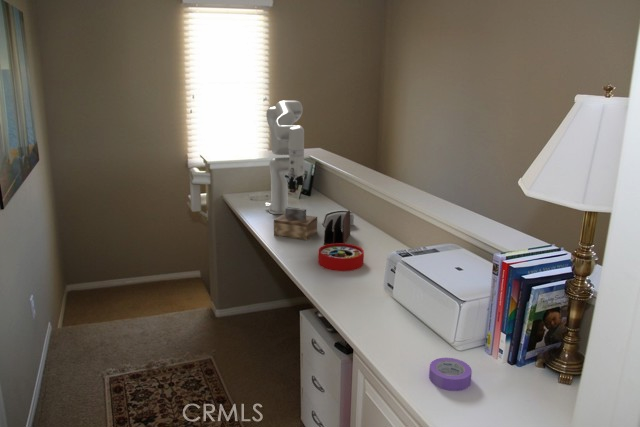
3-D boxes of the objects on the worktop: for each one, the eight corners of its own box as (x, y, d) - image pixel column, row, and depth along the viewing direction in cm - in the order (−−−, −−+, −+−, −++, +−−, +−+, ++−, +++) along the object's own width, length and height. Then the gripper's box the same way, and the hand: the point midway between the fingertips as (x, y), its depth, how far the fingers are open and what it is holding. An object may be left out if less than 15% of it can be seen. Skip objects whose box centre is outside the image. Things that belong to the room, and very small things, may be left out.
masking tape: (421, 381, 159) (422, 369, 158) (440, 364, 168) (441, 352, 167) (460, 396, 152) (461, 384, 151) (477, 378, 161) (478, 366, 160)
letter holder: (350, 234, 287) (351, 208, 283) (343, 247, 268) (344, 219, 264) (331, 233, 288) (331, 206, 285) (323, 245, 270) (324, 217, 266)
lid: (273, 222, 280) (273, 210, 278) (285, 215, 293) (285, 203, 291) (307, 226, 274) (307, 214, 272) (317, 219, 287) (317, 207, 285)
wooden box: (273, 235, 282) (273, 222, 280) (285, 228, 295) (285, 215, 293) (307, 240, 276) (307, 226, 274) (317, 232, 289) (317, 219, 287)
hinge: (350, 222, 307) (353, 207, 301) (353, 227, 303) (356, 212, 298) (321, 224, 302) (323, 209, 297) (323, 229, 299) (326, 214, 293)
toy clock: (371, 255, 241) (328, 261, 234) (371, 268, 242) (328, 274, 235) (352, 241, 259) (311, 245, 251) (352, 253, 260) (311, 258, 253)
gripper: (296, 156, 265) (296, 191, 269) (309, 150, 280) (309, 184, 285) (282, 154, 267) (282, 189, 272) (296, 149, 283) (295, 183, 287)
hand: (296, 187), depth 278 cm, fingers open, 9 cm apart
